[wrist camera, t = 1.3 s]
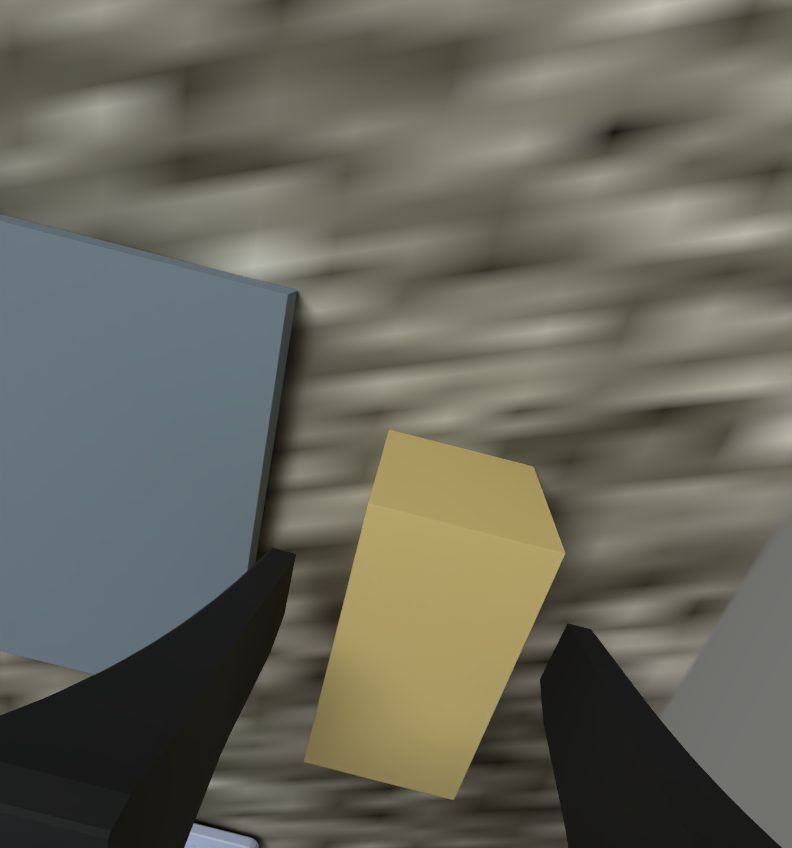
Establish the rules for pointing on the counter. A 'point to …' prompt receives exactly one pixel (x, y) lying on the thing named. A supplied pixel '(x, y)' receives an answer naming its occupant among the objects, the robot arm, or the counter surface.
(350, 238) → the counter surface
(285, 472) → the counter surface
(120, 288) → the mat
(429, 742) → the yellow rectangular block
